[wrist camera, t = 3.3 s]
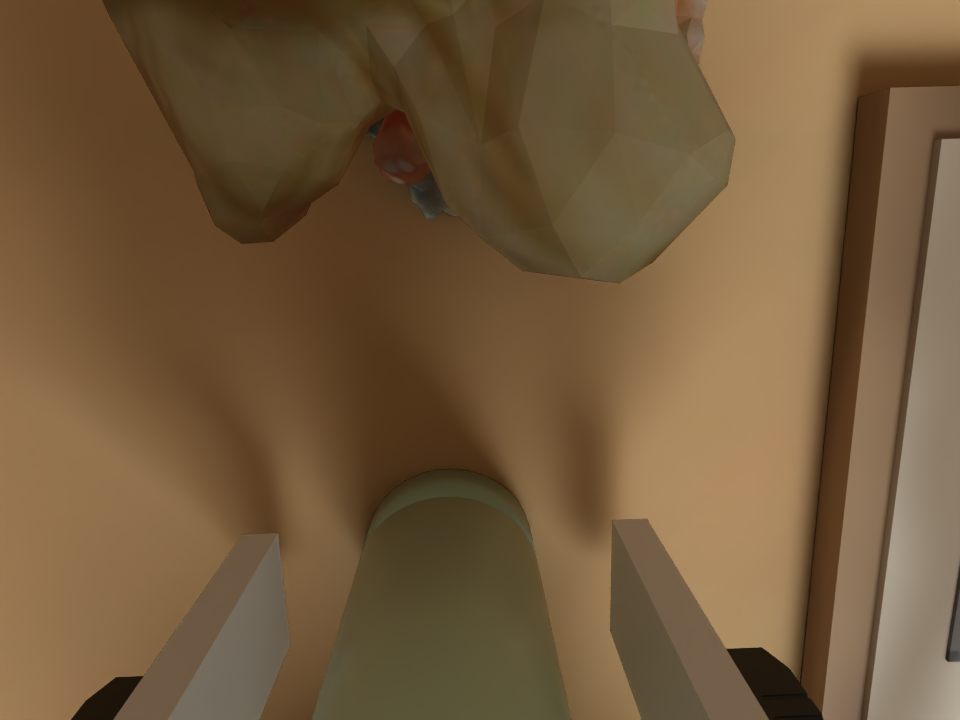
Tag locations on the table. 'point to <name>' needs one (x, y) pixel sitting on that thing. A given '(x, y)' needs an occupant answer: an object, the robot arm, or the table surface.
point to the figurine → (447, 115)
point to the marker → (445, 612)
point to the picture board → (893, 427)
